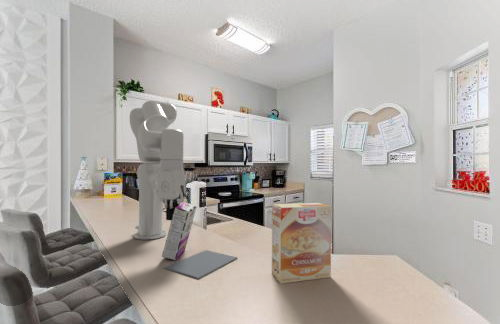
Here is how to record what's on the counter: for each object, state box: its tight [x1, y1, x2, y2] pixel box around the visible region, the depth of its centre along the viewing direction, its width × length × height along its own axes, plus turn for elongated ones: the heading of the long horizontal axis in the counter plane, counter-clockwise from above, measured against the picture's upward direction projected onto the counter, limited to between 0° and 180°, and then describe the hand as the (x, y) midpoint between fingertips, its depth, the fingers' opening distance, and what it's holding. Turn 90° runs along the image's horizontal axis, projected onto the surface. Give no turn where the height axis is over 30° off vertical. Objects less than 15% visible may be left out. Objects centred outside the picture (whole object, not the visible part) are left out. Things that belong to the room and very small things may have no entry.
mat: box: [164, 249, 238, 280], centre depth 77 cm, size 14×18×1 cm
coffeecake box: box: [271, 202, 332, 284], centre depth 69 cm, size 15×7×20 cm, turn 105°
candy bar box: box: [161, 202, 197, 262], centre depth 84 cm, size 11×5×16 cm, turn 179°
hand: (171, 219), depth 85 cm, fingers closed
